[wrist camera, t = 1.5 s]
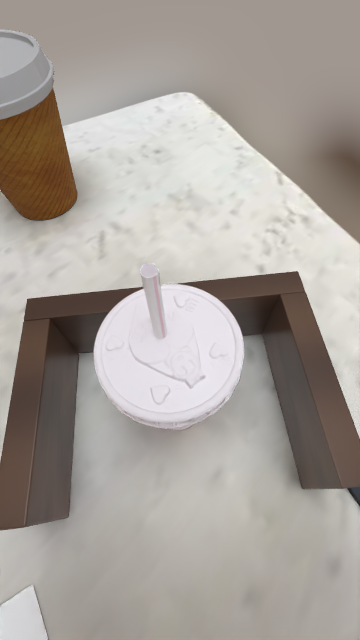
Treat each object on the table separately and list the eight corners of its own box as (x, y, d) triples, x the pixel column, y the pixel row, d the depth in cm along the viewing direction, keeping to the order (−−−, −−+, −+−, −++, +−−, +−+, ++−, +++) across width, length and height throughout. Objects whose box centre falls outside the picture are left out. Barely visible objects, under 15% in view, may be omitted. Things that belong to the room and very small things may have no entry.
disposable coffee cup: (86, 162, 35) (41, 19, 24) (99, 220, 30) (51, 75, 20) (-1, 180, 33) (-87, 38, 23) (0, 242, 29) (-108, 101, 18)
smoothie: (185, 343, 23) (181, 181, 11) (243, 411, 21) (320, 298, 9) (113, 393, 22) (14, 267, 9) (166, 475, 19) (123, 447, 7)
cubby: (328, 486, 18) (377, 484, 14) (41, 520, 18) (-12, 531, 13) (276, 314, 24) (298, 270, 20) (59, 336, 24) (26, 298, 19)
